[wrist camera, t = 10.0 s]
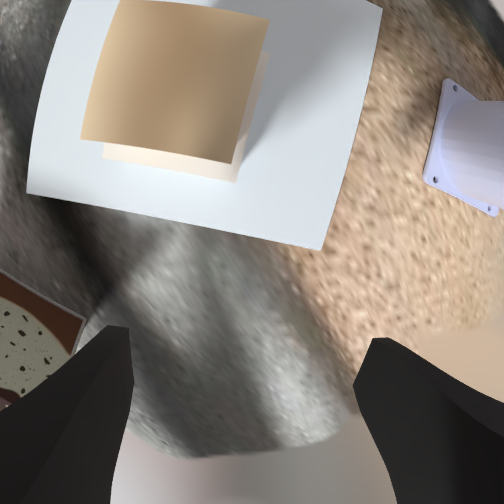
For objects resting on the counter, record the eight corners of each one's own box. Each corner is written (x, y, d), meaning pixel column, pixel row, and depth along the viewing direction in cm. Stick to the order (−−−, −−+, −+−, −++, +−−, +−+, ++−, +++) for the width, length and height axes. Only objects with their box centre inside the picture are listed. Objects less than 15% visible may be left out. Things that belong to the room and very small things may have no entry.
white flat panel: (375, 13, 14) (382, 8, 13) (315, 245, 19) (320, 250, 18) (100, -42, 10) (96, -49, 9) (34, 190, 15) (26, 193, 14)
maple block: (251, 57, 11) (270, 19, 7) (225, 156, 12) (231, 164, 8) (148, 40, 10) (120, -1, 6) (122, 138, 12) (79, 139, 7)
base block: (260, 67, 14) (270, 52, 11) (231, 175, 16) (235, 183, 13) (148, 46, 13) (135, 28, 10) (121, 154, 14) (101, 158, 12)
